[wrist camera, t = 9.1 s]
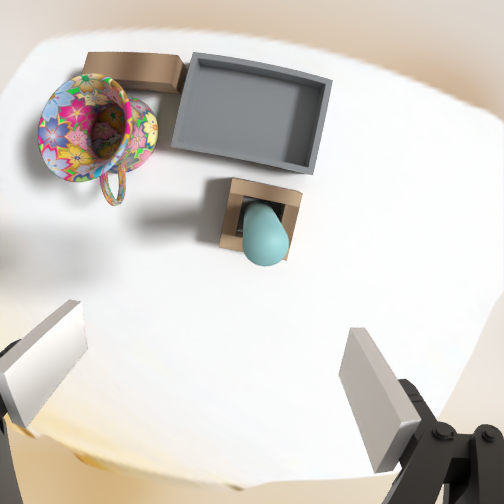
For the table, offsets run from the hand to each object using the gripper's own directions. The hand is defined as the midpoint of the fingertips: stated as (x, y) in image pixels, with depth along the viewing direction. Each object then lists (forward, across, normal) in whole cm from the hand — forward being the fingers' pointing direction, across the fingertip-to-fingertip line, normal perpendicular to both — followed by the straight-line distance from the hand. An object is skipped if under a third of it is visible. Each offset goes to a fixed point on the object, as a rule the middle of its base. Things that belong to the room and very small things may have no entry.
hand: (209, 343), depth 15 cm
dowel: (+22, +2, +3) cm, 22 cm away
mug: (+22, -13, +10) cm, 27 cm away
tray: (+22, +1, +14) cm, 26 cm away
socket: (+22, +2, +3) cm, 22 cm away
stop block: (+21, -12, +18) cm, 30 cm away
